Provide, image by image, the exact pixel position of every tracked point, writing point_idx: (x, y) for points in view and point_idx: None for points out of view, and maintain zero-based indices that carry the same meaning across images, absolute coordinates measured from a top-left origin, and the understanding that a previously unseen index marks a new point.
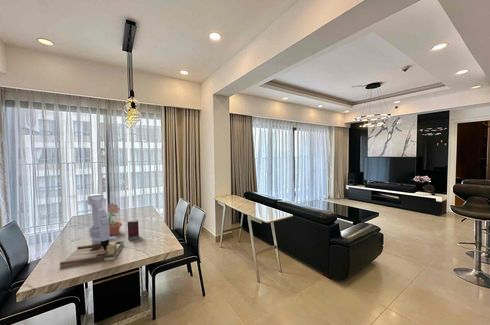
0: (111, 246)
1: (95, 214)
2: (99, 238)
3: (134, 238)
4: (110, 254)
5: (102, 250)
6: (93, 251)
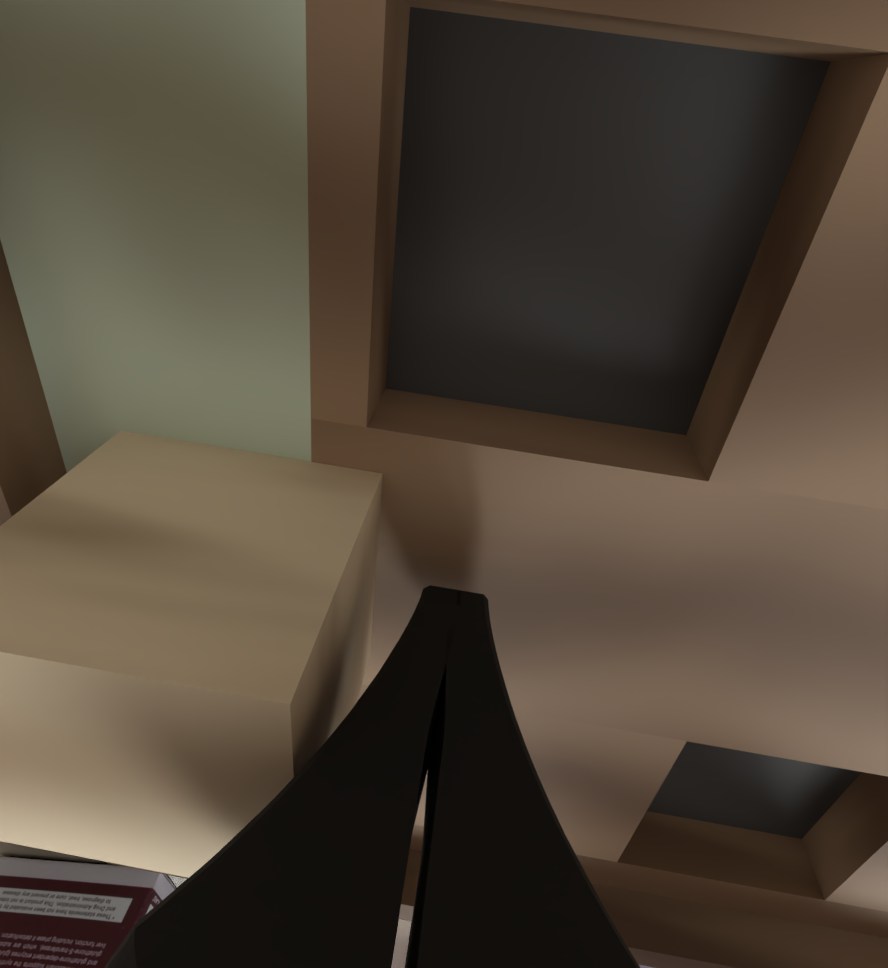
0: (77, 599)
1: None
2: None
3: (58, 869)
4: (147, 161)
5: (568, 670)
6: (838, 730)
